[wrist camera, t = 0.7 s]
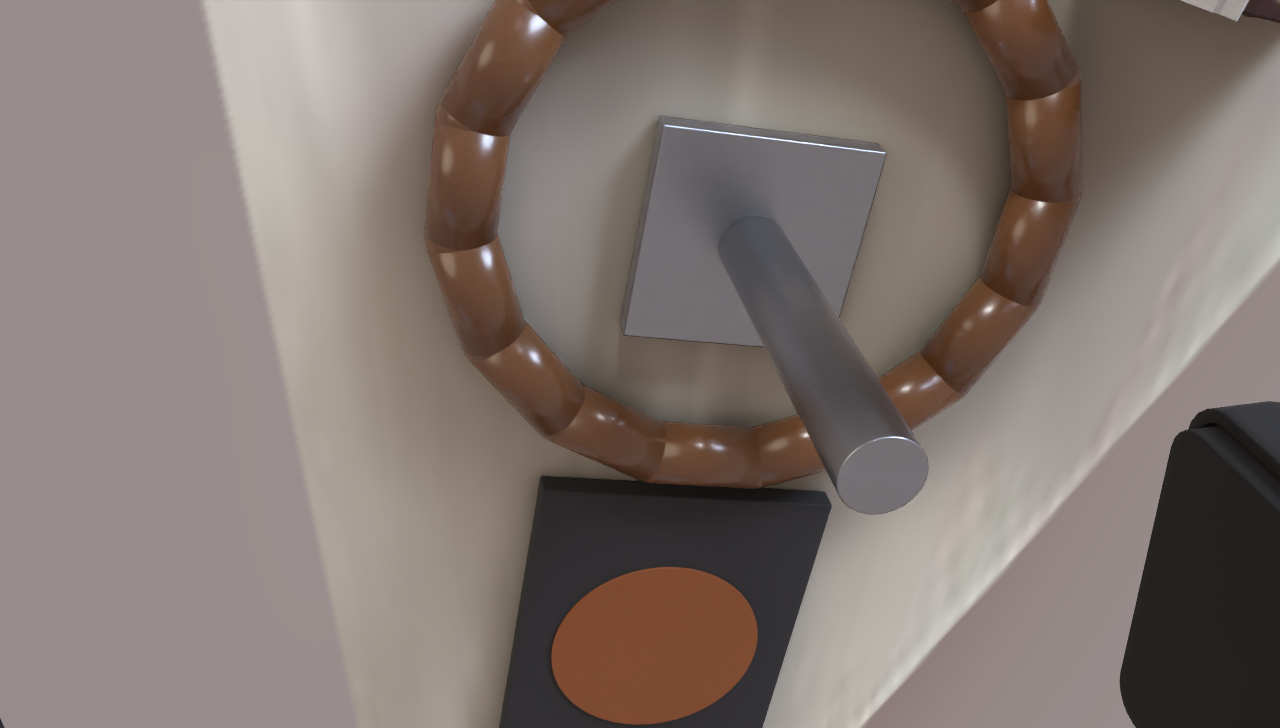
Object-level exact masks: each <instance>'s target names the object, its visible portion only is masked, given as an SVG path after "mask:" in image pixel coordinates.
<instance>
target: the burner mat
mask: <svg viewBox="0 0 1280 728" xmlns="http://www.w3.org/2000/svg"><path fill="white" fill-rule="evenodd" d="M830 510H831V503H830V501H829V499H828V497H827V495H826V493H825V492H815V491H797V490H779V489H761V488H758V489H745V488H727V487H709V486H692V485H674V484H656V483H646V482H636V481H619V480H601V479H583V478H565V477H547V476H541V478H540V483H539V489H538V495H537V501H536V508H535V514H534V520H533V526H532V532H531V538H530V544H529V550H528V556H527V562H526V569H525V575H524V581H523V587H522V593H521V599H520V605H519V611H518V617H517V624H516V630H515V636H514V642H513V648H512V654H511V660H510V666H509V672H508V678H507V685H506V691H505V697H504V703H503V709H502V715H501V721H500V727H499V728H762V727H763V723H764V720H765V717H766V714H767V711H768V707H769V704H770V701H771V698H772V695H773V691H774V688H775V685H776V682H777V679H778V676H779V672H780V669H781V666H782V663H783V660H784V656H785V653H786V650H787V647H788V644H789V640H790V637H791V634H792V631H793V628H794V624H795V621H796V618H797V615H798V612H799V609H800V605H801V602H802V599H803V596H804V593H805V589H806V586H807V583H808V580H809V577H810V573H811V570H812V567H813V564H814V561H815V557H816V554H817V551H818V548H819V545H820V542H821V538H822V535H823V532H824V529H825V526H826V522H827V519H828V516H829V513H830Z"/></svg>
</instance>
